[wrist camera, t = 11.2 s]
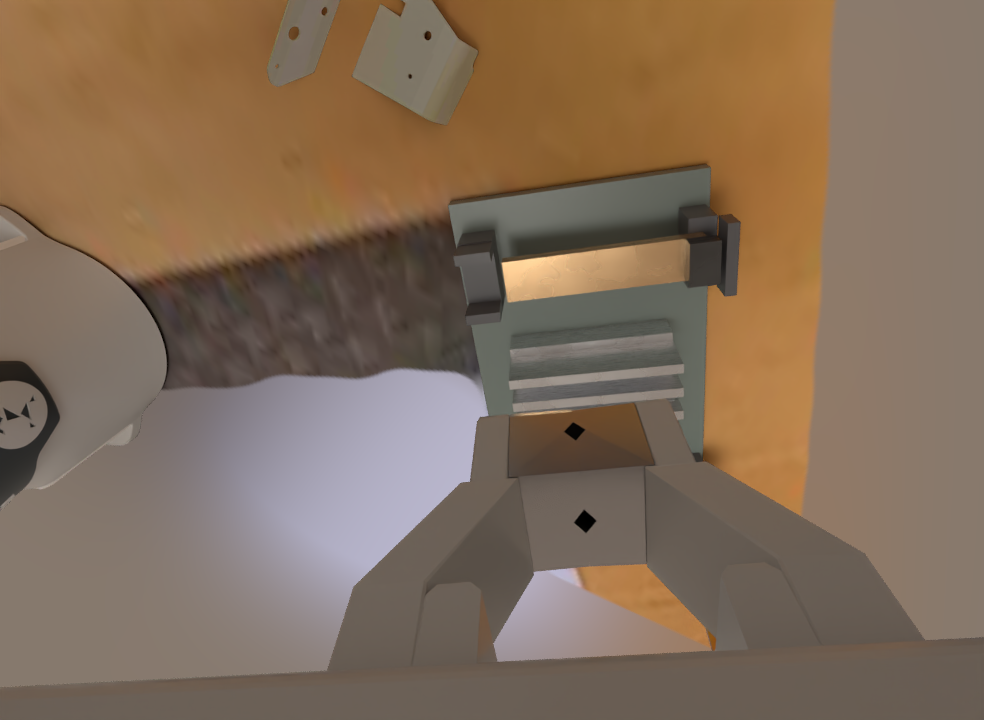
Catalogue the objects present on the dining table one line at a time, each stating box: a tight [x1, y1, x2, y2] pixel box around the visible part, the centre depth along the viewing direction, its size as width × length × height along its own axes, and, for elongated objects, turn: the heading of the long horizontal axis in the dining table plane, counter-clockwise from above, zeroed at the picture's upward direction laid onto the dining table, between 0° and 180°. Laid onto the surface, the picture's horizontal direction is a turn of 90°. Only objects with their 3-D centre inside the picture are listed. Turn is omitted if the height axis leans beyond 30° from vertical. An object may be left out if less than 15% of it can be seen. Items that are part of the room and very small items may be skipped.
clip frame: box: [453, 204, 741, 462], centre depth 36 cm, size 15×22×4 cm, turn 9°
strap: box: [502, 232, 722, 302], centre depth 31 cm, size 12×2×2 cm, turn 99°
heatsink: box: [509, 319, 684, 431], centre depth 36 cm, size 10×8×5 cm
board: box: [448, 164, 711, 460], centre depth 38 cm, size 15×26×1 cm, turn 9°
